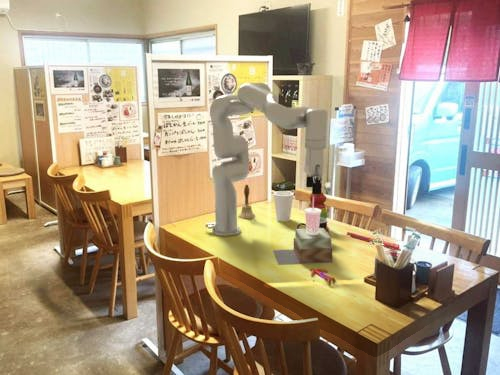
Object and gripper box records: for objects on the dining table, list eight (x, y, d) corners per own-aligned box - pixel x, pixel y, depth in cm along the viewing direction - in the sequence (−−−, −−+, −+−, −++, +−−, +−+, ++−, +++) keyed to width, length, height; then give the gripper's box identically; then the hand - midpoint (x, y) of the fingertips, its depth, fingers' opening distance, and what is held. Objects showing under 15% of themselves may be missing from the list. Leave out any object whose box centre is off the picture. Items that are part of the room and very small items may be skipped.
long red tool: (395, 253, 178) (401, 247, 181) (395, 249, 178) (400, 243, 180) (344, 239, 195) (349, 233, 198) (343, 234, 194) (349, 229, 197)
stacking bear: (329, 232, 199) (331, 193, 195) (306, 232, 200) (307, 193, 195) (326, 225, 210) (327, 187, 206) (304, 224, 210) (305, 187, 206)
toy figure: (318, 270, 161) (318, 263, 161) (341, 283, 151) (341, 275, 151) (300, 275, 157) (300, 268, 157) (322, 288, 147) (323, 281, 147)
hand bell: (236, 214, 226) (236, 183, 222) (252, 213, 228) (252, 182, 224) (240, 219, 218) (240, 187, 215) (257, 218, 220) (257, 186, 217)
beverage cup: (312, 236, 165) (313, 199, 161) (300, 232, 169) (301, 196, 166) (324, 233, 168) (325, 197, 165) (312, 229, 173) (313, 193, 170)
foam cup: (293, 222, 213) (294, 196, 210) (273, 222, 213) (274, 196, 210) (291, 216, 223) (292, 191, 219) (273, 216, 223) (273, 191, 220)
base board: (278, 267, 163) (278, 264, 163) (272, 253, 176) (272, 250, 176) (332, 265, 165) (332, 262, 164) (322, 251, 178) (323, 248, 178)
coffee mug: (328, 240, 190) (328, 217, 187) (324, 247, 182) (325, 224, 180) (300, 237, 193) (301, 215, 191) (296, 244, 186) (296, 221, 183)
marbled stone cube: (299, 262, 164) (300, 239, 162) (293, 250, 176) (294, 228, 174) (331, 261, 165) (332, 238, 163) (323, 249, 177) (324, 227, 175)
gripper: (300, 140, 169) (298, 184, 173) (310, 147, 152) (308, 196, 156) (319, 140, 169) (317, 184, 173) (332, 147, 153) (329, 196, 157)
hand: (313, 190), depth 165 cm, fingers open, 9 cm apart
